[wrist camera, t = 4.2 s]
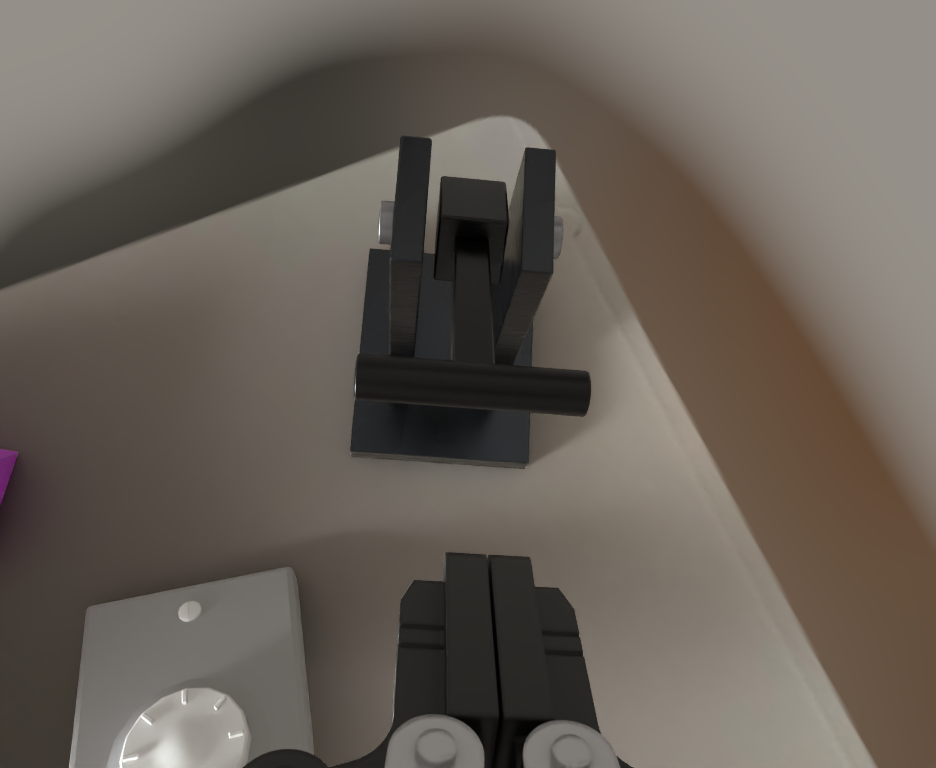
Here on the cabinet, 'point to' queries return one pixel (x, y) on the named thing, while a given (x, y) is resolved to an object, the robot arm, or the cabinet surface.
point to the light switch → (194, 676)
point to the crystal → (6, 469)
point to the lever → (471, 323)
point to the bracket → (429, 317)
